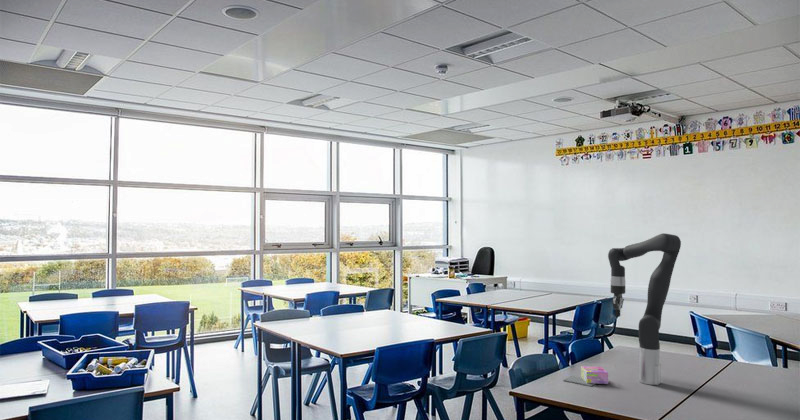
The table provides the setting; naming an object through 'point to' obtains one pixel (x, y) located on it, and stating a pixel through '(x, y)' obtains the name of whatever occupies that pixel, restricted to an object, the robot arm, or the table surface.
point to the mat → (578, 381)
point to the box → (594, 375)
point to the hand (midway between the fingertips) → (617, 316)
